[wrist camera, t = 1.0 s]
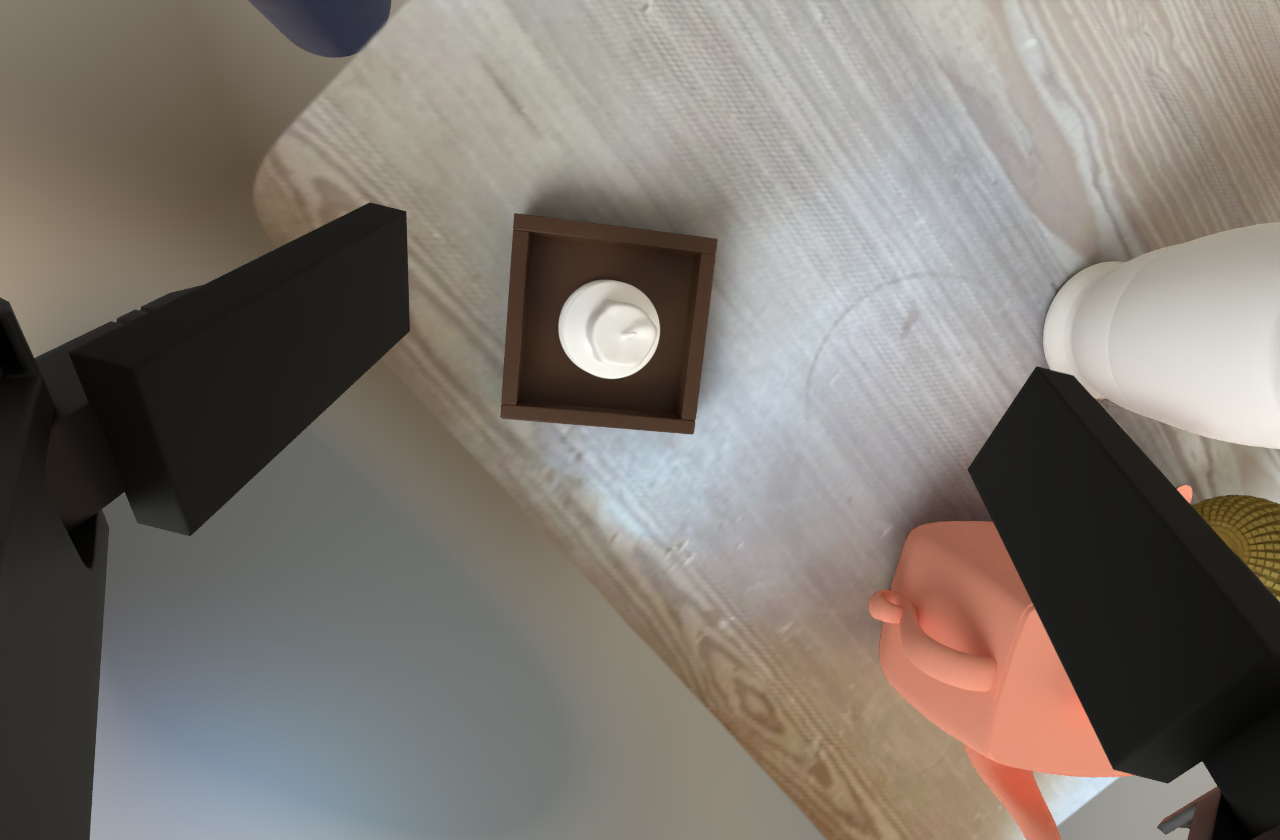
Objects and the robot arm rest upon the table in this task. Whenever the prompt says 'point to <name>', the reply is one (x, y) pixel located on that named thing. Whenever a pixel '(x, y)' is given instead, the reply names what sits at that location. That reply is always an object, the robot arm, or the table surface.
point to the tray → (571, 257)
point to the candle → (609, 328)
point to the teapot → (985, 665)
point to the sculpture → (1248, 532)
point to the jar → (1180, 334)
